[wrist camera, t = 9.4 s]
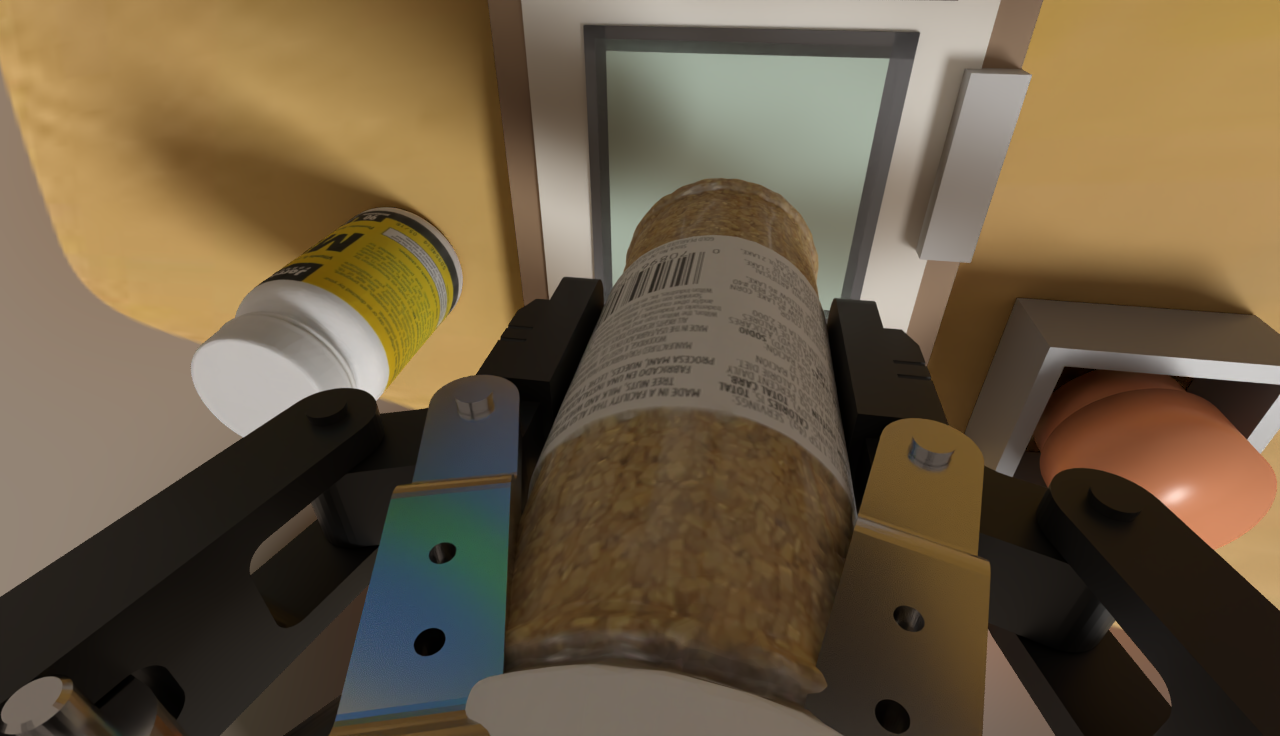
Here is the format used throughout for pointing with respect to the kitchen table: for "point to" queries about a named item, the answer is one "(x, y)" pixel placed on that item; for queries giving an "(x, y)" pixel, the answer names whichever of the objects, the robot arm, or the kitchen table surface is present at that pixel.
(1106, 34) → the kitchen table surface
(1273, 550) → the kitchen table surface
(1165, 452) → the button
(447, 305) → the supplement bottle
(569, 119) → the colouring board
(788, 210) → the spice bottle
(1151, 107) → the kitchen table surface
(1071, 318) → the button collar
